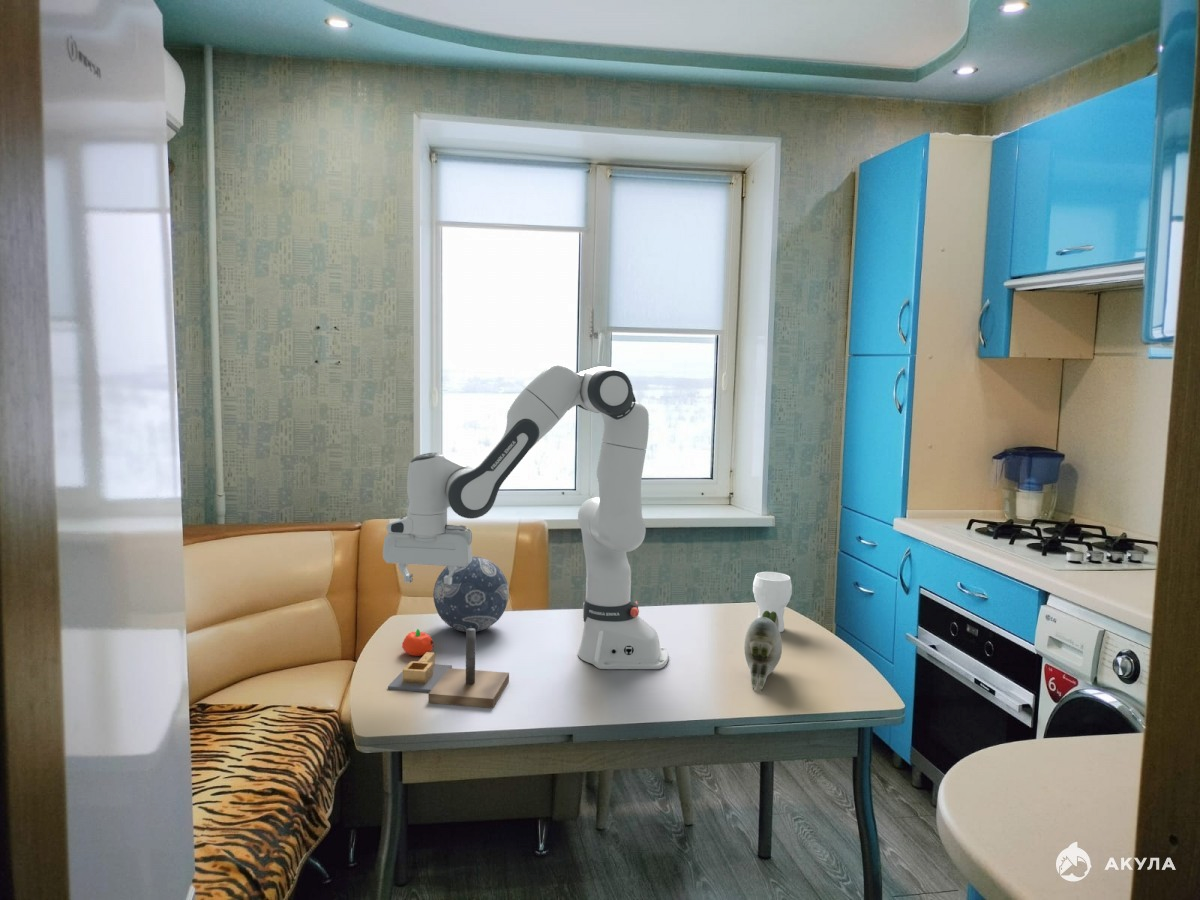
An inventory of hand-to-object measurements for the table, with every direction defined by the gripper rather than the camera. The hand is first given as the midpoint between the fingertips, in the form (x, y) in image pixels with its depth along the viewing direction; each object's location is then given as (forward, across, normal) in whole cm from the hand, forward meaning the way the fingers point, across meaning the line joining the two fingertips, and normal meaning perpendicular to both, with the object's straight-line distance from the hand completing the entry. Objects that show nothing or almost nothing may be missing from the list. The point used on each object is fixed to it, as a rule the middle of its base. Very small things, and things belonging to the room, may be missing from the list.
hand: (427, 583), depth 177 cm
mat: (+21, 0, +4) cm, 21 cm away
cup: (+22, -83, -47) cm, 98 cm away
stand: (+21, -13, +9) cm, 26 cm away
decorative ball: (+21, -2, -29) cm, 36 cm away
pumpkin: (+21, +6, -10) cm, 24 cm away
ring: (+20, 0, +3) cm, 21 cm away
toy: (+22, -78, -13) cm, 82 cm away
